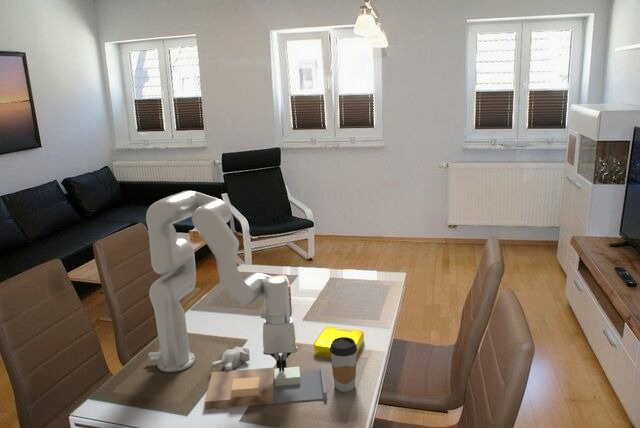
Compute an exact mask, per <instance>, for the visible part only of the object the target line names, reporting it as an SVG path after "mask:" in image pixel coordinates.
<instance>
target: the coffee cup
mask: <svg viewBox="0 0 640 428" xmlns="http://www.w3.org/2000/svg"><path fill="white" fill-rule="evenodd" d="M356 351H357V345H356V343H355V341H354V340H353V339H352V338H349V337H339V338H336V339H334V340H332V342H331V345H330V352H331V358H330V359H331V368H332V376H333V383H334V387H335V390H337V391H338V392H342V393H349V392H351V391H353V390H354V388H355V386H356V376H357V375H356V374H357V357H356Z"/></svg>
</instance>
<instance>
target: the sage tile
mask: <svg viewBox="0 0 640 428" xmlns="http://www.w3.org/2000/svg"><path fill="white" fill-rule="evenodd" d="M300 371H301V370H300V366H291V367H286V368H284V372H283V371H281V372H279V368H274V380H275V386H283V385H294V384H301V383H300Z"/></svg>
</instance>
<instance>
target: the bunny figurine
mask: <svg viewBox="0 0 640 428" xmlns="http://www.w3.org/2000/svg"><path fill="white" fill-rule="evenodd" d="M250 359H251V358H250V348H246V347H241V346H234V347H233V348H231V349H225V351H223V353H222V356H221V359H220V360H215V361H212V362H211V365H210V368H215V367H218V366H220V365H222V366H223V367H224V369H225V371H233V369H236V368H238V367H239V366H240V365H241V363H244V362H249V361H251V360H250Z"/></svg>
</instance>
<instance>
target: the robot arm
mask: <svg viewBox="0 0 640 428" xmlns="http://www.w3.org/2000/svg"><path fill="white" fill-rule="evenodd" d="M145 214H146V215H145V221H146V226H147V230H148V231H147V232H148V237H149V238H148V239H149V241H148V242H149V252H150V262H151V263H150V264H151V267H152V269H153V271H154V272H155V273H156V274H158V275H161V276H160V277H158V279H156V280H154V282H153V283H152V284H151V286H150V287H149V291H148V292H149V294H148V295H149V299H150V302H151V305H152V307H153V310H154V311H153V312H154V316H155V323H156V329H157V337H158V342H159V343H158V344H159V351H158V352H157V351H156V352H153V351H151V352H148V358H149V359H150V362H155V361H157V363H156V366H157V368H158V369H159V370H160V371H162V372H166V373H177V372H181V371H184V370H186V369H189V368H190V367H191V366H193V365H194V363H195V362H196V356H195V354H194V353H193V352H191V351H190V344H189V343H190V342H189V336H188V335H189V334H188V329H187V328H188V327H187V320H186V313H185V310H184V308H183V307H182V305H181V303H180V300H182V298H184V297H185V296H186V295H188V294H189V293H191V292H192V291H193V290H194V289H195V287H196V281H197V272H196V271H197V270H196V260H195V259H196V258H195V250H194V248H193V246H192V244H191V243H190V241H188V240H187V239H185V238H182V237H177V231H176V228H175V226H174V224H176V223H179V222H181V221H185V220H186V219H189V218H191V222H192V224H193V226H194V227H195V230H196V231H197V232H198V233H199V235H200V236H201V238H202V239H203V241H204V242H205V243H206V245H207V247H208V248H209V250H210V251H211V252H212V254H213V256H214V257H215V259H216V269H217V273H218V278H219V281H220V284H221V286H222V287H223V289H224V290H225V292H226V294H227V295H228V297H230V299H231V300H232V301H233V302H234V303H235V304H236V306H237V305H238V306H239V307H242V308H248V307H251V306H253V305H254V304H255V303H256V302H257V301H258V300H260V299H261V298H263V300H264V302H263V303H264V311H265V312H264V313H261V314H260V319H264V320H263V326H262V347H263V351H262V352H263V355H266V356H271V358H273V359H274V360H275V361H276V363H275V364H276V369H278V368H279V372H281V371H283V372H284V368H287V358H289V356H290V355H291V354H294V353H298V346H297V337H296V336H297V335H296V330H295V328H296V327H295V324H294V320H293V318H292V317H291V314H290V307H289V292H288V282H287V280H286V279H285V278H284V277H281V276H279V275H273V276H272V275H268V274H267V273H266V274H265V273H262V272H253V273H251V274H249V275H248V276H246V278H243V277H242V275H241V273H240V271H239V269H238V268H239V267H238V265H237V255H238V252H239V247H240V241H239V239H238V238H237V236H236V235H235V234H234V233H233V231H232V229H231V228H230V227H229V225H228V224H227V223H229V221H230V220H231V218H232V210H231V208H230V206H229V204H227V202H225V201H224V200H222V199H219V197H218V198H217V197H214V196H210V195H207V194H205V193H202V192H198V191H195V190H194V191H193V190H183V191H181V192H178V193H175V194H172V195H169V196H167V197H166V196H165V197H164V198H162V199H159V200H157V201H155V202H153V203H152V204H151V205H150V206H149V207H148V209H147V210H146V213H145ZM280 354H281V355H280Z"/></svg>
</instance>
